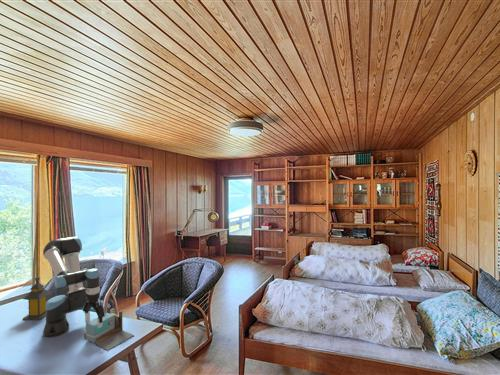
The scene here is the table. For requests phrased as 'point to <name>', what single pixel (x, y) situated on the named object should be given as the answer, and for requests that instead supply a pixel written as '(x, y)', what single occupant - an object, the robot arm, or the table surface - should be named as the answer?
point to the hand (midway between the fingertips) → (93, 324)
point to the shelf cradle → (117, 329)
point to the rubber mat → (114, 340)
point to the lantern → (37, 302)
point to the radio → (96, 332)
